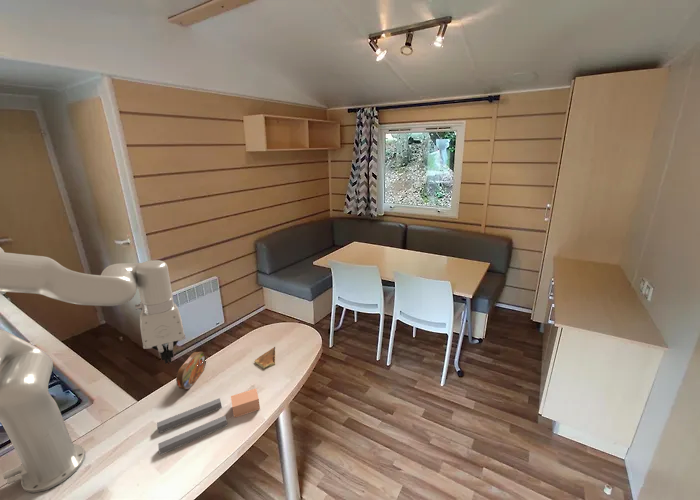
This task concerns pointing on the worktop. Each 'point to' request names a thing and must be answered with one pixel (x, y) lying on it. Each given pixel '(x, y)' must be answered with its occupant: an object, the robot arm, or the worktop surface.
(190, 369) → the tin
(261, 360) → the shard
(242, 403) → the block
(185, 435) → the chute
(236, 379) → the worktop surface
